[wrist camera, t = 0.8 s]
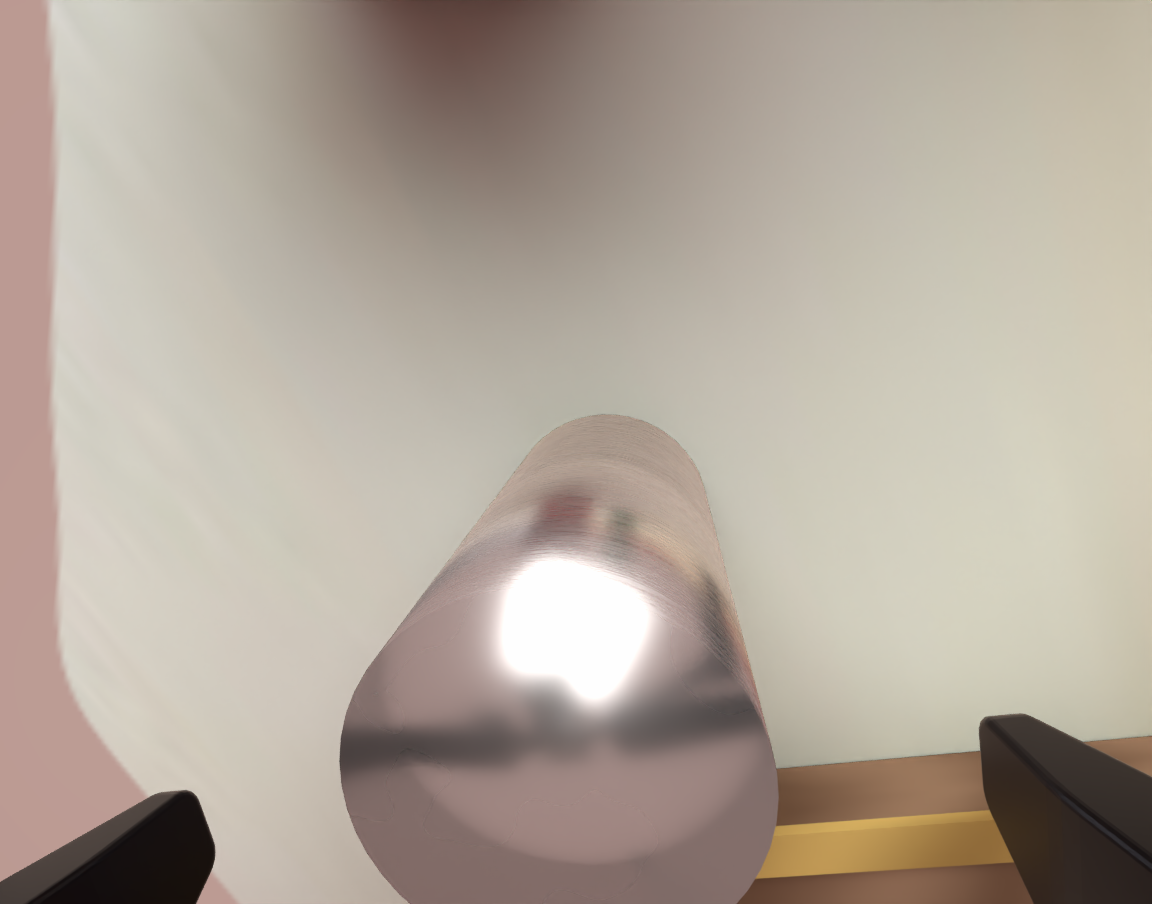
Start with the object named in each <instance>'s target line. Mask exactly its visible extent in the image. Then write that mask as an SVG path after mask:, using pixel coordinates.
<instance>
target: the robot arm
mask: <svg viewBox="0 0 1152 904" xmlns="http://www.w3.org/2000/svg"><path fill="white" fill-rule="evenodd" d="M979 740H980V753H981V767H982V781H983V789H984V794H985V798H986V802H987V805H988V807H989V810H990V812H991V815H992V817H993V819H994V821H995V823H996V825H997V827H998V830H999V832H1000V834H1001V836H1002V838H1003V840H1004V842H1005V844H1006V846H1007V849H1008V851H1009V853H1010V855H1011V857H1012V859H1013V861H1014V863H1015V865H1016V868H1017V870H1018V872H1019V874H1020V876H1021V878H1022V880H1023V882H1024V884H1025V887H1026V889H1027V891H1028V893H1029V895H1030V897H1031V899H1032V901H1033V903H1034V904H1152V776H1150V775H1148V774H1146V773H1144V772H1142V771H1140V770H1138V769H1136V768H1134V767H1132V766H1130V765H1128V764H1126V763H1124V762H1122V761H1120V760H1118V759H1116V758H1114V757H1112V756H1110V755H1108V754H1106V753H1104V752H1102V751H1100V750H1098V749H1096V748H1094V747H1092V746H1090V745H1088V744H1086V743H1084V742H1082V741H1080V740H1078V739H1076V738H1074V737H1072V736H1070V735H1068V734H1066V733H1064V732H1062V731H1060V730H1058V729H1056V728H1054V727H1052V726H1050V725H1048V724H1046V723H1044V722H1042V721H1040V720H1038V719H1036V718H1034V717H1031V716H1029V715H1026V714H1008V715H998V716H987V717H985V718H984V719H983V720H982V721H981V722H980V726H979ZM214 860H215V844H214V841H213V838H212V835H211V832H210V830H209V827H208V824H207V821H206V818H205V816H204V813H203V810H202V807H201V805H200V802H199V800H198V798H197V796H196V795H195V794H194V793H193V792H191V791H187V790H181V791H170V792H161V793H157V794H155V795H152V796H150V797H149V798H147V799H145V800H143V801H142V802H140V803H138V804H136V805H135V806H133V807H131V808H129V809H128V810H126V811H124V812H122V813H121V814H119V815H117V816H115V817H114V818H112V819H110V820H108V821H107V822H105V823H103V824H101V825H99V826H98V827H96V828H94V829H93V830H91V831H89V832H87V833H85V834H84V835H82V836H80V837H78V838H77V839H75V840H73V841H71V842H70V843H68V844H66V845H64V846H63V847H61V848H59V849H57V850H56V851H54V852H52V853H50V854H48V855H47V856H45V857H43V858H42V859H40V860H38V861H36V862H35V863H33V864H31V865H29V866H27V867H26V868H24V869H22V870H20V871H19V872H17V873H15V874H13V875H12V876H10V877H8V878H6V879H5V880H3V881H1V882H0V904H196V903H197V900H198V898H199V896H200V894H201V892H202V890H203V888H204V885H205V883H206V881H207V879H208V877H209V875H210V873H211V870H212V868H213V864H214Z"/></svg>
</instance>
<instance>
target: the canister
mask: <svg viewBox="0 0 1152 904" xmlns="http://www.w3.org/2000/svg"><path fill="white" fill-rule="evenodd" d="M340 772H341V783H342V789H343V793H344V798H345V802H346V806H347V810H348V813H349V815H350V818H351V820H352V823H353V826H354V828H355V831H356V833H357V835H358V837H359V839H360V841H361V843H362V844H363V846H364V848H365V850H366V852H367V854H368V855H369V857H370V858H371V860H372V861H373V862H374V864H375V865H376V867H377V868H378V869H379V871H380V872H381V874H382V875H383V876H384V877H385V878H386V880H387V881H388V882H389V883H390V884H391V885H392V886H393V887H394V889H395V890H396V891H397V892H398V893H399V894H400V895H401V896H402V897H403V898H404V899H406V900H407V901H408V902H409V903H410V904H737V903H738V901H739V900H740V899H741V898H742V897H743V896H744V894H745V893H746V892H747V891H748V889H749V888H750V886H751V885H752V883H753V881H754V880H755V878H756V877H757V875H758V873H759V872H760V870H761V868H762V866H763V863H764V861H765V859H766V856H767V854H768V852H769V849H770V847H771V843H772V839H773V835H774V831H775V827H776V823H777V811H778V800H779V794H778V780H777V770H776V765H775V761H774V757H773V752H772V748H771V744H770V740H769V736H768V732H767V728H766V724H765V720H764V717H763V713H762V709H761V705H760V701H759V697H758V693H757V690H756V686H755V682H754V678H753V674H752V670H751V666H750V663H749V659H748V655H747V651H746V647H745V643H744V639H743V636H742V632H741V628H740V624H739V620H738V616H737V612H736V609H735V605H734V601H733V597H732V593H731V589H730V585H729V582H728V578H727V574H726V570H725V566H724V562H723V558H722V555H721V551H720V547H719V543H718V539H717V535H716V531H715V528H714V524H713V520H712V516H711V512H710V508H709V504H708V501H707V497H706V493H705V489H704V485H703V482H702V479H701V477H700V474H699V472H698V470H697V468H696V466H695V464H694V462H693V461H692V459H691V458H690V457H689V455H688V454H687V452H686V451H685V450H684V449H683V448H682V447H681V446H680V445H679V444H678V443H677V442H676V441H675V440H674V439H673V438H672V437H670V436H669V435H668V434H667V433H665V432H664V431H662V430H660V429H659V428H657V427H655V426H653V425H651V424H649V423H646V422H644V421H642V420H638V419H635V418H631V417H627V416H620V415H593V416H587V417H583V418H579V419H576V420H573V421H570V422H568V423H565V424H563V425H561V426H560V427H558V428H556V429H554V430H553V431H551V432H550V433H549V434H547V435H546V436H545V437H543V438H542V439H541V440H540V441H539V442H538V443H537V444H536V445H535V446H534V447H533V449H532V450H531V451H530V452H529V454H528V455H527V456H526V458H525V459H524V460H523V462H522V463H521V464H520V466H519V467H518V468H517V470H516V471H515V472H514V474H513V475H512V476H511V478H510V479H509V480H508V482H507V483H506V484H505V486H504V487H503V488H502V490H501V491H500V492H499V494H498V495H497V496H496V498H495V499H494V500H493V502H492V503H491V504H490V506H489V507H488V508H487V510H486V511H485V512H484V514H483V515H482V516H481V518H480V519H479V520H478V522H477V523H476V524H475V526H474V527H473V528H472V530H471V531H470V532H469V534H468V535H467V536H466V538H465V539H464V540H463V542H462V543H461V544H460V546H459V547H458V548H457V550H456V551H455V552H454V554H453V555H452V556H451V558H450V559H449V560H448V562H447V563H446V565H445V566H444V567H443V569H442V570H441V571H440V573H439V574H438V575H437V577H436V578H435V579H434V581H433V582H432V583H431V585H430V586H429V587H428V589H427V590H426V591H425V593H424V594H423V595H422V597H421V598H420V599H419V601H418V602H417V603H416V605H415V606H414V607H413V609H412V610H411V611H410V613H409V614H408V615H407V617H406V618H405V619H404V621H403V622H402V623H401V625H400V626H399V627H398V629H397V630H396V631H395V633H394V634H393V635H392V637H391V638H390V639H389V641H388V642H387V643H386V645H385V646H384V647H383V649H382V650H381V651H380V653H379V654H378V655H377V657H376V658H375V659H374V661H373V662H372V663H371V665H370V666H369V667H368V669H367V670H366V672H365V674H364V675H363V677H362V679H361V681H360V682H359V684H358V686H357V688H356V690H355V691H354V694H353V697H352V699H351V702H350V705H349V707H348V710H347V712H346V716H345V721H344V725H343V730H342V735H341V745H340Z"/></svg>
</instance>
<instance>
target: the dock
mask: <svg viewBox="0 0 1152 904" xmlns="http://www.w3.org/2000/svg"><path fill="white" fill-rule="evenodd" d="M1084 743H1086V744H1088V745H1090V746H1092V747H1094V748H1096V749H1098V750H1100V751H1102V752H1104V753H1106V754H1108V755H1110V756H1112V757H1114V758H1116V759H1118V760H1120V761H1122V762H1124V763H1126V764H1128V765H1130V766H1132V767H1134V768H1136V769H1138V770H1140V771H1142V772H1144V773H1146V774H1148V775H1150V776H1152V736H1148V737H1137V738H1125V739H1114V740H1102V741H1091V742H1084ZM776 770H777V780H778V794H779V800H778V811H777V823H776V827H775V831H774V835H773V839H772V843H771V847H770V849H769V852H768V854H767V856H766V859H765V861H764V863H763V866H762V868H761V870H760V872H759V873H758V875H757V877H756V878H755V880H754V881H753V883H752V885H751V886H750V888H749V889H748V891H747V892H746V893H745V894H744V896H743V897H742V898H741V899H740V900H739V901H738V903H737V904H1034V903H1033V901H1032V899H1031V897H1030V895H1029V893H1028V891H1027V889H1026V887H1025V884H1024V882H1023V880H1022V878H1021V876H1020V874H1019V872H1018V870H1017V868H1016V865H1015V863H1014V861H1013V859H1012V857H1011V855H1010V853H1009V851H1008V849H1007V846H1006V844H1005V842H1004V840H1003V838H1002V836H1001V834H1000V832H999V830H998V827H997V825H996V823H995V821H994V819H993V817H992V815H991V812H990V810H989V807H988V805H987V802H986V798H985V794H984V789H983V781H982V767H981V753H980V751H977V752H965V753H954V754H942V755H931V756H920V757H908V758H897V759H885V760H874V761H862V762H851V763H839V764H828V765H817V766H805V767H794V768H782V769H776Z"/></svg>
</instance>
